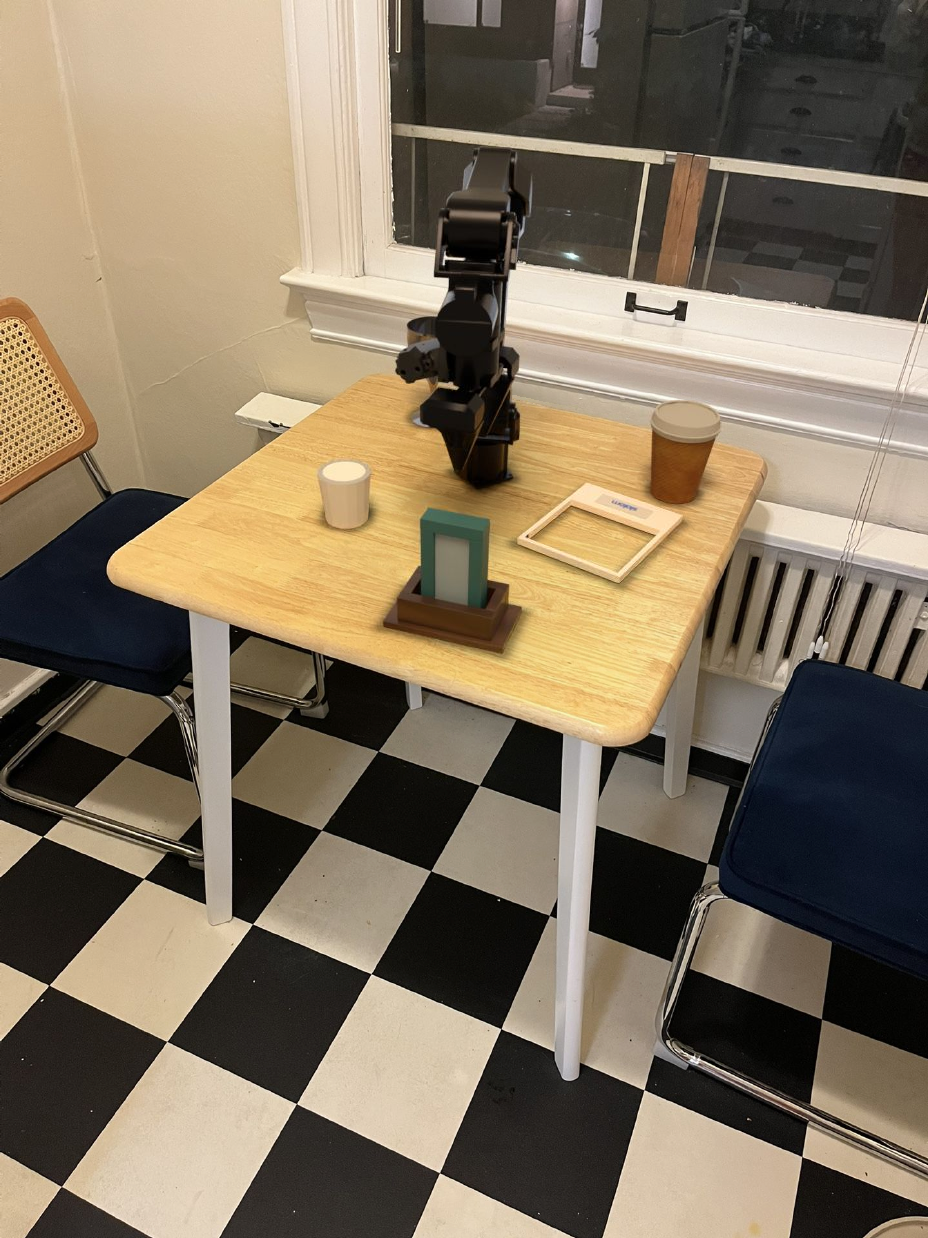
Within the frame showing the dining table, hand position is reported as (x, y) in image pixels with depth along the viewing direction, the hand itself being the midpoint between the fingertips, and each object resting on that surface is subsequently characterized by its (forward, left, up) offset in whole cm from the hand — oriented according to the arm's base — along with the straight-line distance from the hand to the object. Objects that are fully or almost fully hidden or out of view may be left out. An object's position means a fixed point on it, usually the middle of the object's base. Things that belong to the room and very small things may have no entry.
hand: (470, 452), depth 108 cm
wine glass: (-16, -34, -13) cm, 40 cm away
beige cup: (+10, -14, -13) cm, 22 cm away
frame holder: (+10, +12, -13) cm, 20 cm away
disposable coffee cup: (-32, +4, -13) cm, 35 cm away
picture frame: (+10, +12, -12) cm, 20 cm away
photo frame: (-16, +7, -13) cm, 22 cm away
